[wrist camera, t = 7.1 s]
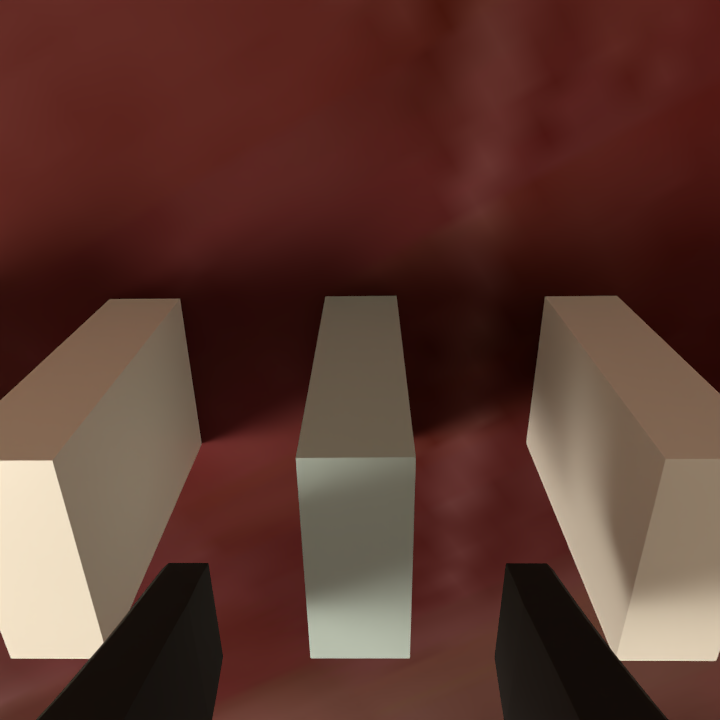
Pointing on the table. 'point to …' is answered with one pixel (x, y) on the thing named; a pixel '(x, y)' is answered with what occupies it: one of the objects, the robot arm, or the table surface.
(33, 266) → the table surface
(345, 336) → the domino
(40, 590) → the domino
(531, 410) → the domino
